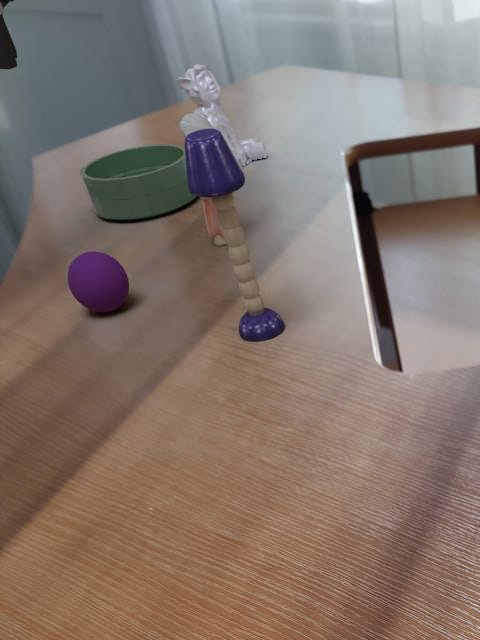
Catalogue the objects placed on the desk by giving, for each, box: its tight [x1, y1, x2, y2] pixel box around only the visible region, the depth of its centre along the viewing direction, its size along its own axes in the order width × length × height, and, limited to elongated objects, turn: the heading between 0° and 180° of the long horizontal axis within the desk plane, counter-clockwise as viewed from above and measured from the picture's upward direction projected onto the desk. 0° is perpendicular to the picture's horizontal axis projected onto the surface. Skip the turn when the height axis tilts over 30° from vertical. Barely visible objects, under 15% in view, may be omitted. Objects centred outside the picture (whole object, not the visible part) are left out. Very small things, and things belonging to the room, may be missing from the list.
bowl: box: [79, 143, 197, 221], centre depth 109 cm, size 13×13×5 cm
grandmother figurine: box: [179, 112, 228, 247], centre depth 95 cm, size 8×4×13 cm, turn 6°
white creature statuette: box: [176, 63, 268, 171], centre depth 115 cm, size 10×9×12 cm
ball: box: [67, 250, 130, 313], centre depth 86 cm, size 6×6×6 cm
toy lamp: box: [184, 129, 286, 342], centre depth 75 cm, size 5×5×17 cm
